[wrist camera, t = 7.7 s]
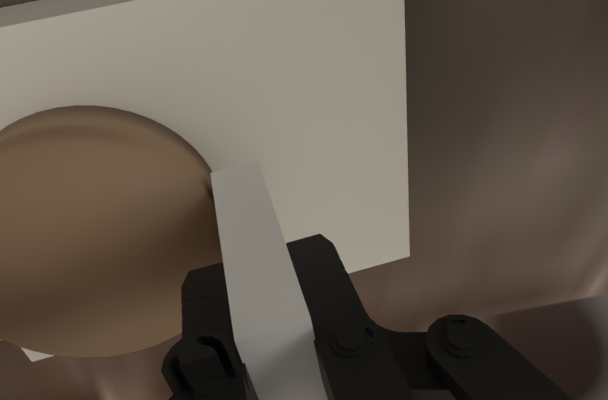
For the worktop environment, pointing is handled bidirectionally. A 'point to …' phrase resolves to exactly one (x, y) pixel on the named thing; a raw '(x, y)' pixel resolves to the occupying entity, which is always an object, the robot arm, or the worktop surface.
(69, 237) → the walnut coaster
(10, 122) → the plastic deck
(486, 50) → the worktop surface
